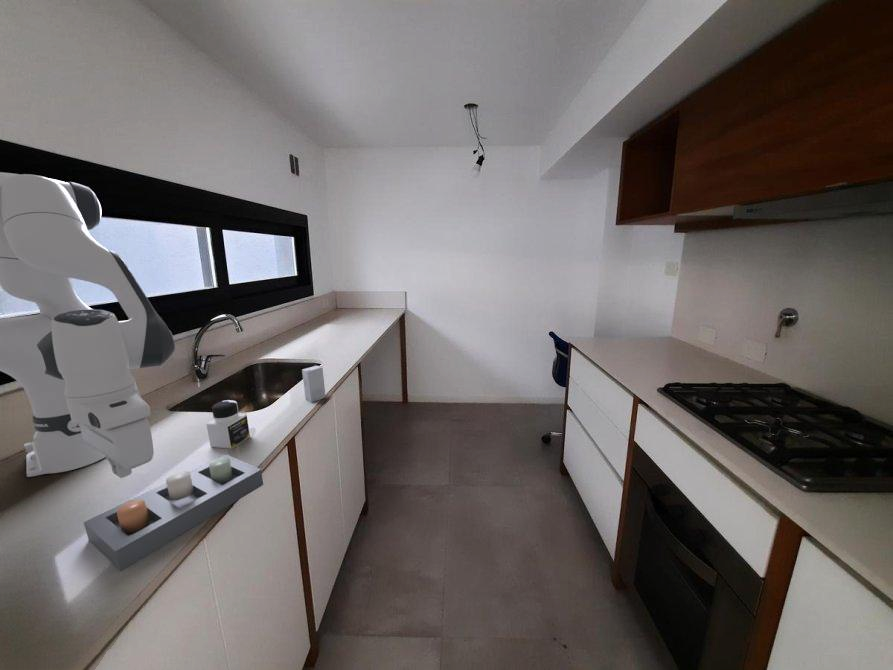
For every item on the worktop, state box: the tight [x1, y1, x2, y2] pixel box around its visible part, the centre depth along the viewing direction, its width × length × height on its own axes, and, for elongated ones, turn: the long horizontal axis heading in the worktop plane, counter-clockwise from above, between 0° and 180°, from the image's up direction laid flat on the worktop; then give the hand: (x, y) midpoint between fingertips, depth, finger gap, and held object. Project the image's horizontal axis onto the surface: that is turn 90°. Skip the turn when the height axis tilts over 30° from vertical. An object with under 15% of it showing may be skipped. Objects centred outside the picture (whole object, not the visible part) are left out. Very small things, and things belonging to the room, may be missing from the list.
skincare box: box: [301, 365, 327, 403], centre depth 130 cm, size 6×4×12 cm
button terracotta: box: [117, 500, 149, 533], centre depth 66 cm, size 4×4×4 cm
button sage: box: [209, 458, 233, 484], centre depth 80 cm, size 4×4×4 cm
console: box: [83, 453, 264, 572], centre depth 74 cm, size 14×26×4 cm, turn 151°
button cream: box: [165, 470, 194, 500], centre depth 73 cm, size 4×4×4 cm
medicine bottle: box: [206, 399, 251, 450], centre depth 100 cm, size 7×7×12 cm
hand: (122, 474), depth 65 cm, fingers closed
